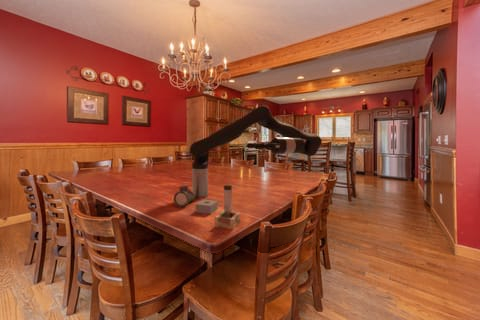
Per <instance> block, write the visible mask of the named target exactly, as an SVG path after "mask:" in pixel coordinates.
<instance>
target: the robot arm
mask: <svg viewBox="0 0 480 320" xmlns="http://www.w3.org/2000/svg"><path fill="white" fill-rule="evenodd" d="M256 123H257V125H259V126H261V127H263V128H265V129H267V130H270V131H273V132H274V133H277V134H278V135H281V136H282V137H273V138H272V139H271V141H270V140H269V141H260V142H252V143H251V142H250V143H246V148H247V149H255V150H265V151H271V153H272V154H274V155H283V154H285V155H288V154H301V155H305V156H308V157H313V156H315V155H316V154H317V153H318V150H319V149H320V147H321V145H322V142H323V140H322V138H321V137H320V136H319V135H317V134H314V133H309V132H305V131H303V130H301V129H299V128H297V127H295V126H294V125H291V124H289V123H284V122H281V121H279V120H278V119H276V118H275V117H274V116H273V114H272V112H271V109H270V108H269V107H268V106H267V105H260V106H257V107H256V108H253V109H252V111H250V112H248V113H247V114H245V115H244V116H241V117H240V118H239V119H237V120H235V121H233V122H231V123H229V124H227V125H226V126H223V127H222V128H220V129H218V130H217V131H215V132H213V133H211V134H210V135H209V136H207V137H204V138H201V139H200V140H197V141H195V142H193V143H192V144H191V145H190V147H189V153H190V155H191V156H192V157H194V158H193V159H194V160H193V162H192V164H191V166H192V167H191V173H192V177H191V178H192V192H193V193H194V199H195V198H196V199H197V198H198V199H201V198H203V199H204V198H207V197H208V196H209V169H208V168H209V166H208V165H209V163H210V160H209V159H210V151H211V150H213V149H214V148H217V147H220V146H224V145H226V144H227V145H228V143H231V142H234V141H235V140H238V139H239V138H240V137H241V136H242V135H243V134H244V133H245V132H246V130H247V129H248V128H249V127H251V126H253V125H255V124H256Z"/></svg>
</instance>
